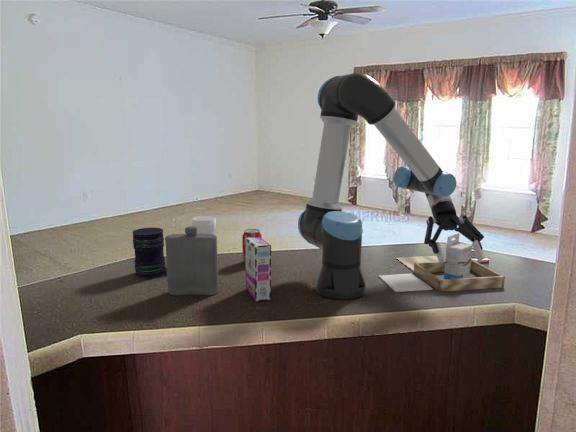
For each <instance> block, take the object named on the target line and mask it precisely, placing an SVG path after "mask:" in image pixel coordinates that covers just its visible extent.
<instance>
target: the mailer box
mask: <svg viewBox="0 0 576 432" xmlns="http://www.w3.org/2000/svg"><path fill="white" fill-rule="evenodd" d="M443 255H444V258H446V254H443ZM395 259H396V260H397V259H398V260H399V261H398V260H397V261H398V262H400V261H401V262H402V263H403V264H402V263H401V262H400V263H401V264H402V265H404V266H405V265H406V266H407V267H406V266H405V267H406V268H408V269H409V268H410V269H411V271H412V272H413V274H414V275H415V276H417V277H418V278H419V279H421V280H422V281H423V282H425V283H426V284H427V285H429V286H430V287H431V288H432V287H433V289H435V290H436V291H437V292H440V293H441V292H457V291H471V290H483V289H484V290H485V289H486V290H487V289H499V288H501V289H502V288H504V287H505V280H506V276H505V275H503V274H501V273H499V272H497V271H495V270H493V269H491V268H489V267H487V266H486V265H483V264H482V263H481V262H478V261H476V260H474V259H471V263H470V272H473V273H475V274H477V275H478V277H469V278H460V279H444V278H443V279H441V278H439V277H438V276H436V275H435V274H433V273H444V270H445V261H444V262H443V263H442V264H439V261H438V258H437V255H421V256H406V257H405V256H403V257H401V256H400V257H395ZM410 269H409V270H410Z"/></svg>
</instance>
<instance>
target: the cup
mask: <svg viewBox="0 0 576 432" xmlns="http://www.w3.org/2000/svg"><path fill="white" fill-rule="evenodd" d="M191 226H194V227H196V228H197V233H198V234H213V235H216V229H217V219H216V217H215V216H211V215H201V216H199V215H198V216H195V217H192V218H191ZM218 259H219V258H217V262H218V261H219V260H218Z"/></svg>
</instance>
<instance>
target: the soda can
mask: <svg viewBox="0 0 576 432" xmlns="http://www.w3.org/2000/svg"><path fill="white" fill-rule="evenodd" d="M251 237H261V238H262V239H263V236H262V234H261V230H260V229H258V228H247V229H244V230H243V234H242V237H241V238H242V239H241V240H242V244H241V247H242V261H243V263H245V264H246V257H245V238H251Z"/></svg>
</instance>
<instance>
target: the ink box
mask: <svg viewBox="0 0 576 432" xmlns="http://www.w3.org/2000/svg"><path fill="white" fill-rule="evenodd" d="M460 234H461V233H459V232H458V233H456V234H453V235H449V236H448V237H447V240H446V246H445V249H446V250H445V255H446V258H445V270H444V272H443V279H460V278H470V273H471V270H470V263H471V260H472V251H473V247H472V243H466V242H461V241H460ZM452 239H453V240H452Z"/></svg>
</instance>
